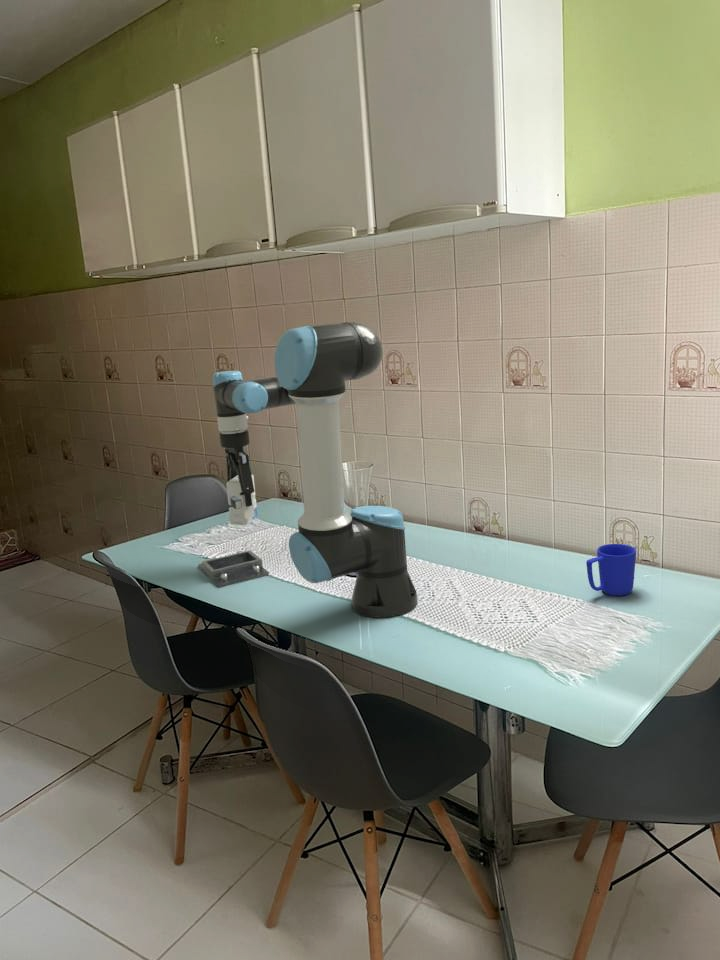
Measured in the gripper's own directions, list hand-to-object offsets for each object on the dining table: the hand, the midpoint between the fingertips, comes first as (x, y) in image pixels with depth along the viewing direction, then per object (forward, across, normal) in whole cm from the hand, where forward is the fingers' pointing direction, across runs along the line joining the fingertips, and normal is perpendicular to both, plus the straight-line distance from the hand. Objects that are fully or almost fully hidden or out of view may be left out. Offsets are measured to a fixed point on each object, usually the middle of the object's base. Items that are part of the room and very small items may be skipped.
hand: (243, 512), depth 195 cm
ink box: (+2, 0, 0) cm, 2 cm away
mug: (+15, -69, -63) cm, 95 cm away
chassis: (+17, +3, +4) cm, 17 cm away
